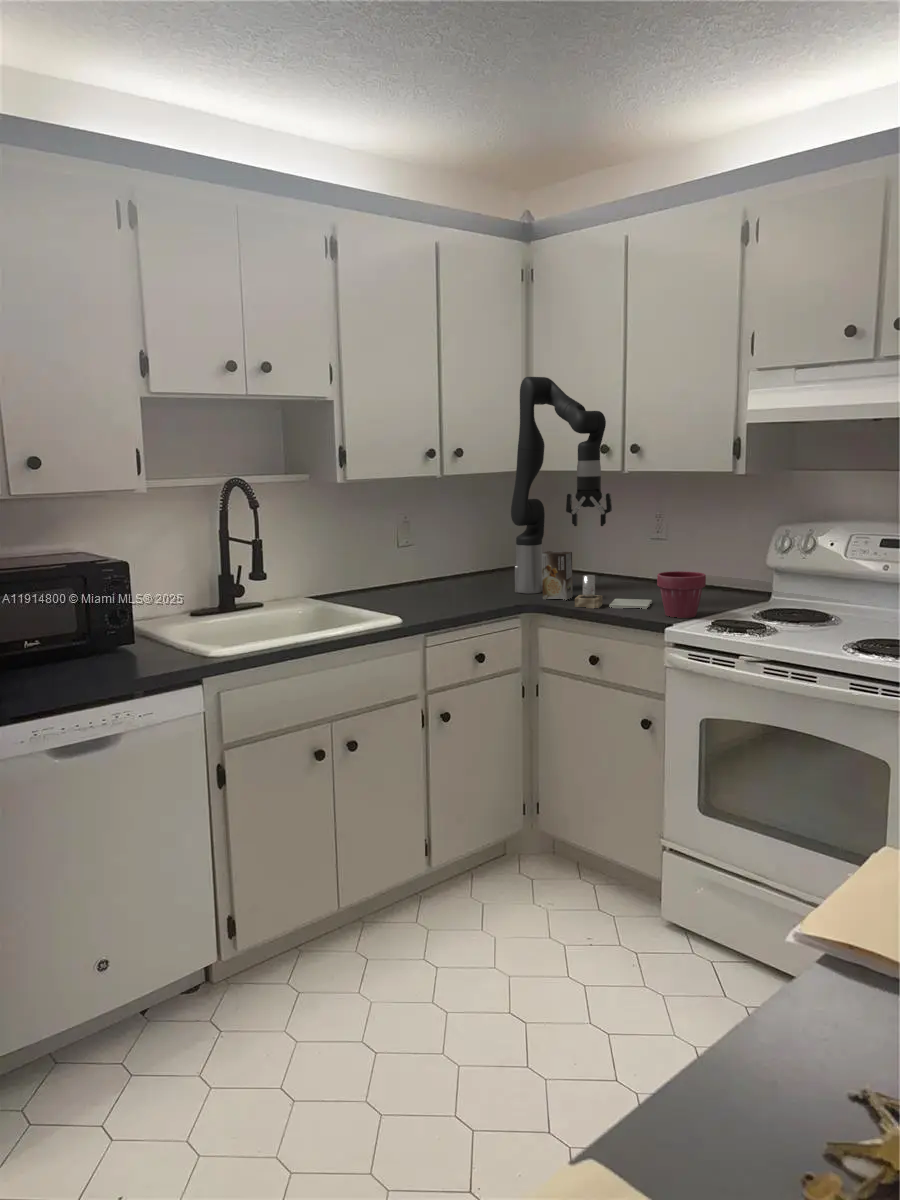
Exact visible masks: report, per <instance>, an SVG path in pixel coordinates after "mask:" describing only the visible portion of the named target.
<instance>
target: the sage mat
mask: <svg viewBox="0 0 900 1200" xmlns="http://www.w3.org/2000/svg"><path fill="white" fill-rule="evenodd" d="M652 603H653V600H652V599H641V598H639V599H636V598H635V599H634V598H614V599H613V600H612V602H610V603H609V605H608V608H609V607H610V608H609V609H623V608H640V609H639V610H648V609H649V608H650V606H651V605H652ZM650 604H651V605H650ZM611 607H612V608H611ZM648 607H649V608H648ZM641 608H642V609H641ZM647 608H648V609H647Z"/></svg>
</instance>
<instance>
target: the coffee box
mask: <svg viewBox="0 0 900 1200" xmlns="http://www.w3.org/2000/svg"><path fill="white" fill-rule="evenodd" d="M573 594H574V593H573V551H560V550H559V551H555V550H553V551H551V550H547V551H544V552H542V600H546V599H563V600H562V601H566V600H567V599H569V600H571V599H573V598H574V596H573ZM572 597H573V598H572ZM570 598H571V599H570ZM564 599H565V600H564ZM567 601H568V600H567Z"/></svg>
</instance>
